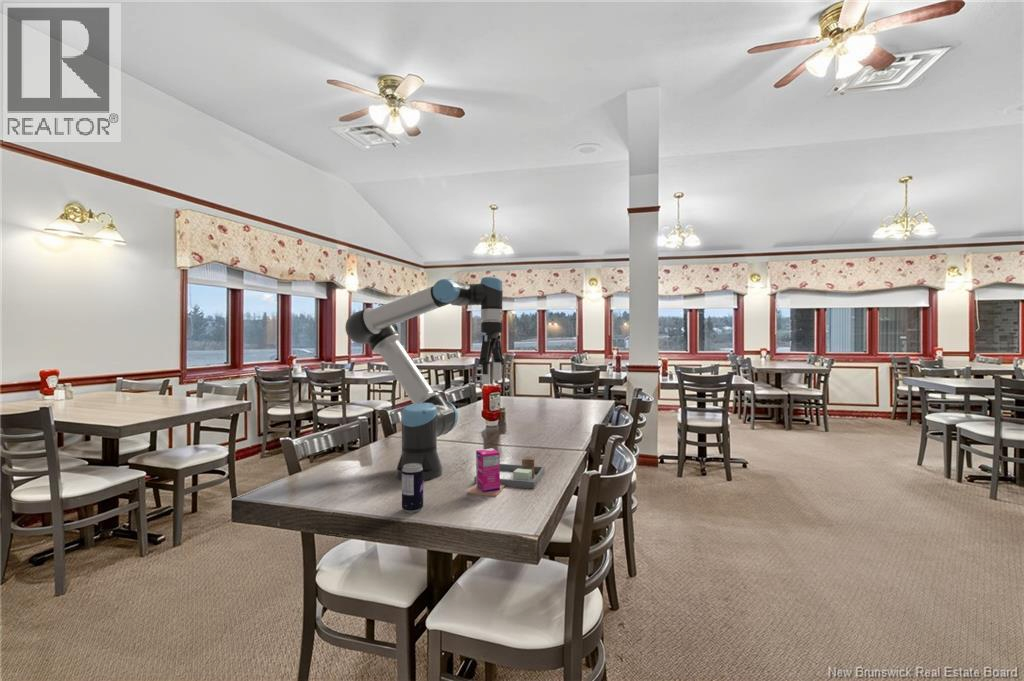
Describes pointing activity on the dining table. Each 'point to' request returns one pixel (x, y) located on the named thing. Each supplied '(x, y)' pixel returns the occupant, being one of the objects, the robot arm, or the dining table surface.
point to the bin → (520, 482)
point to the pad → (477, 491)
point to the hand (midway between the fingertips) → (491, 382)
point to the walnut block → (528, 463)
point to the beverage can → (412, 487)
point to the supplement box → (487, 470)
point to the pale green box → (522, 474)
